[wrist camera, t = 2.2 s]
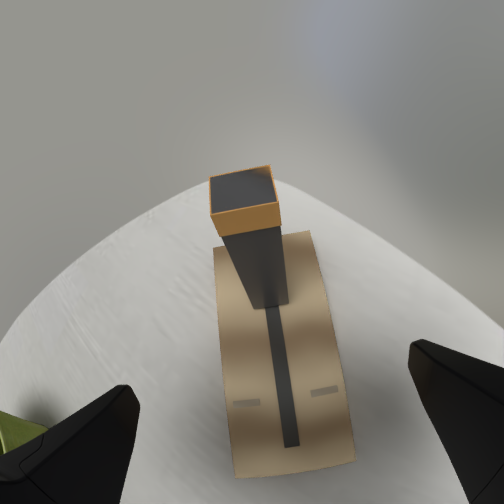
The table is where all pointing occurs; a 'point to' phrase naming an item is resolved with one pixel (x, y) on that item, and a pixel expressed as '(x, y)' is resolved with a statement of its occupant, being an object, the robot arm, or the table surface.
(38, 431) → the plant pot
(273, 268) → the fader tab
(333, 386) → the fader track
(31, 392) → the table surface
